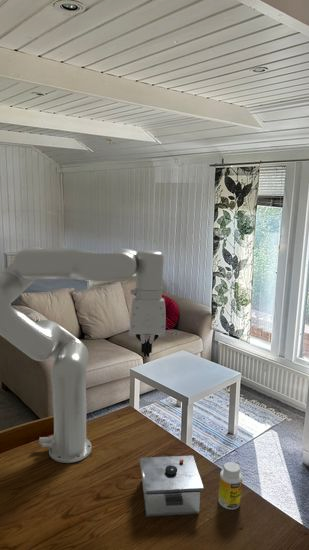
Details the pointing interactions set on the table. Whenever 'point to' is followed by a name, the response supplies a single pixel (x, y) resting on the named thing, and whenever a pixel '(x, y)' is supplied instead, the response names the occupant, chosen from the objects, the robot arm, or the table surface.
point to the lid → (170, 474)
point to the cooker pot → (172, 503)
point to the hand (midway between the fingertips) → (146, 354)
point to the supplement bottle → (230, 486)
